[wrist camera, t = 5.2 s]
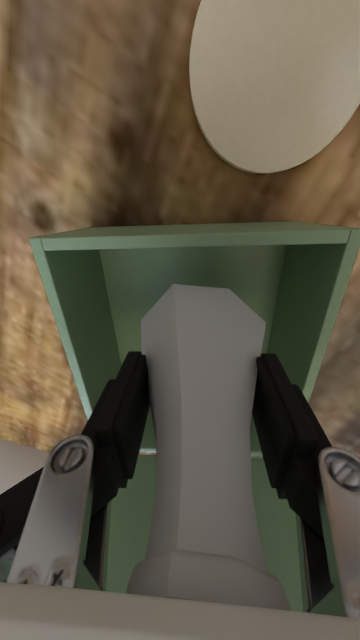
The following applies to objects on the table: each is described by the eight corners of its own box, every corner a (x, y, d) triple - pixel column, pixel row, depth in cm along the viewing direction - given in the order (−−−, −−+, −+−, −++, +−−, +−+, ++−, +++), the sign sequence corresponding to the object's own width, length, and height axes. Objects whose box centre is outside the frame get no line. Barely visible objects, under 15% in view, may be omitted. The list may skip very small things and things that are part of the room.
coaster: (188, -74, 10) (187, -89, 10) (413, -100, 10) (426, -118, 9) (190, 177, 15) (190, 176, 14) (343, 170, 14) (349, 169, 14)
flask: (125, 362, 14) (9, 619, 5) (163, 259, 11) (20, 494, 2) (225, 397, 15) (263, 669, 6) (288, 312, 12) (557, 638, 3)
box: (90, 227, 17) (27, 238, 10) (296, 221, 16) (366, 228, 9) (122, 387, 24) (97, 450, 18) (263, 389, 23) (290, 457, 17)
